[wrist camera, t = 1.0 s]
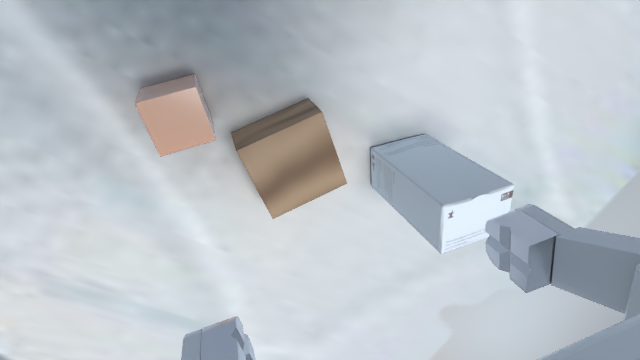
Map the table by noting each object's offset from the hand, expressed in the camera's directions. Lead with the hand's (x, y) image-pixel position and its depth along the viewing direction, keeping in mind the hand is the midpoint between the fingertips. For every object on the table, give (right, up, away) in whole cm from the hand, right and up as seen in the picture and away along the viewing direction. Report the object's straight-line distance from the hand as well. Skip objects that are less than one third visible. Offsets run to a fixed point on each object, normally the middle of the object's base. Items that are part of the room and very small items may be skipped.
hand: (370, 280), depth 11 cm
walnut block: (-6, +7, +30) cm, 31 cm away
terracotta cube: (-15, +10, +24) cm, 30 cm away
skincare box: (+9, +6, +35) cm, 37 cm away
